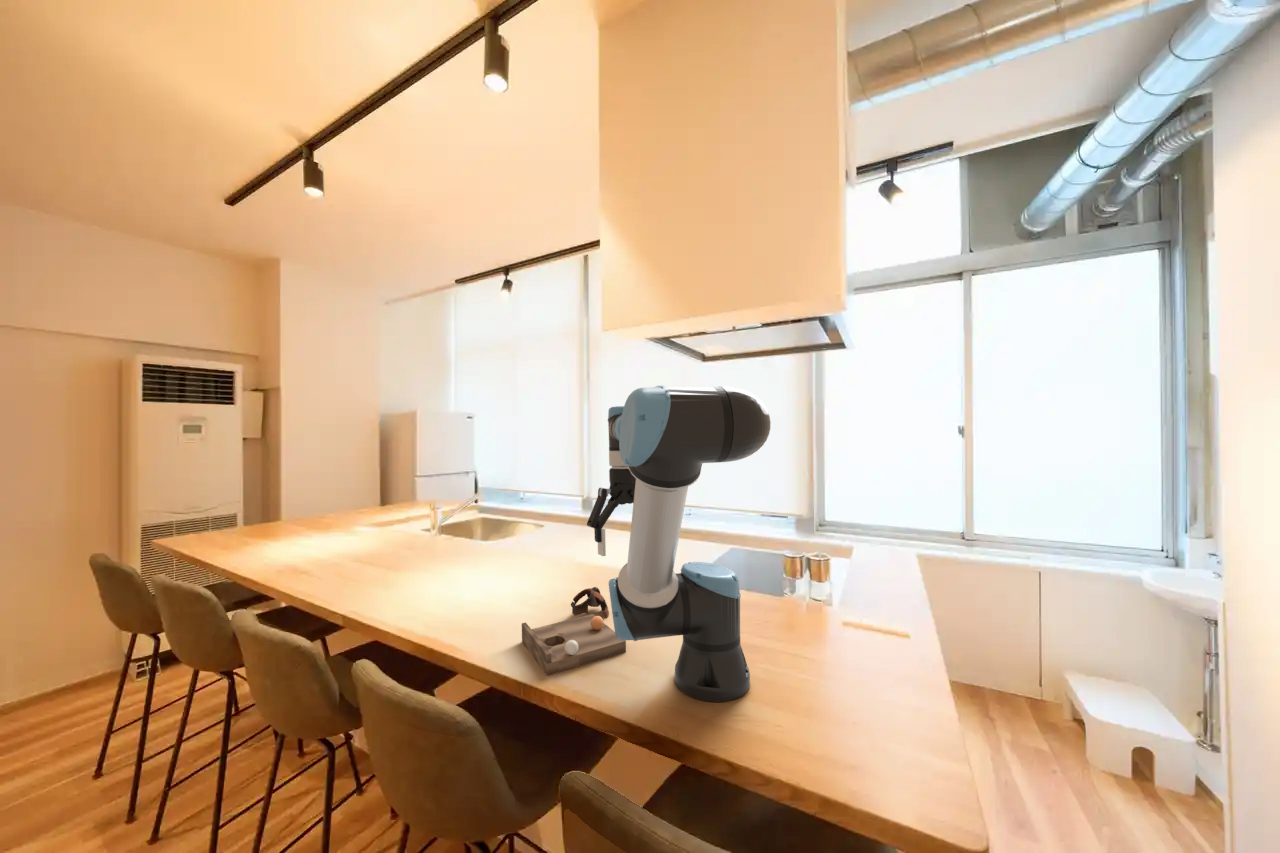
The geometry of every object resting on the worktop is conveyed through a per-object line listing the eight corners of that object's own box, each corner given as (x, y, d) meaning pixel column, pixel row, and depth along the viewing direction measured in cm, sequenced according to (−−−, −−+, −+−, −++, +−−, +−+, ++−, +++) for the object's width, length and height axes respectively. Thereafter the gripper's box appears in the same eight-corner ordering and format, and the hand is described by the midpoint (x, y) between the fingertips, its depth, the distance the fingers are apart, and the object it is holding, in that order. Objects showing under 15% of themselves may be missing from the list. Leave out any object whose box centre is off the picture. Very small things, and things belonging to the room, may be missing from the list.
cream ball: (580, 655, 101) (580, 641, 101) (567, 659, 100) (567, 645, 100) (575, 649, 104) (575, 636, 104) (562, 653, 102) (562, 639, 102)
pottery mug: (609, 624, 124) (594, 600, 122) (579, 637, 125) (563, 614, 124) (614, 596, 135) (600, 574, 133) (587, 609, 137) (572, 587, 135)
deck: (625, 651, 108) (625, 632, 108) (547, 675, 98) (546, 654, 98) (592, 623, 123) (592, 606, 123) (522, 641, 113) (521, 623, 113)
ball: (606, 630, 113) (605, 617, 113) (594, 633, 112) (593, 620, 112) (600, 625, 116) (600, 612, 116) (588, 628, 114) (588, 615, 114)
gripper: (656, 463, 128) (657, 540, 128) (572, 469, 115) (574, 555, 115) (672, 465, 122) (674, 546, 122) (585, 471, 109) (587, 562, 108)
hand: (625, 550), depth 118 cm, fingers open, 13 cm apart
